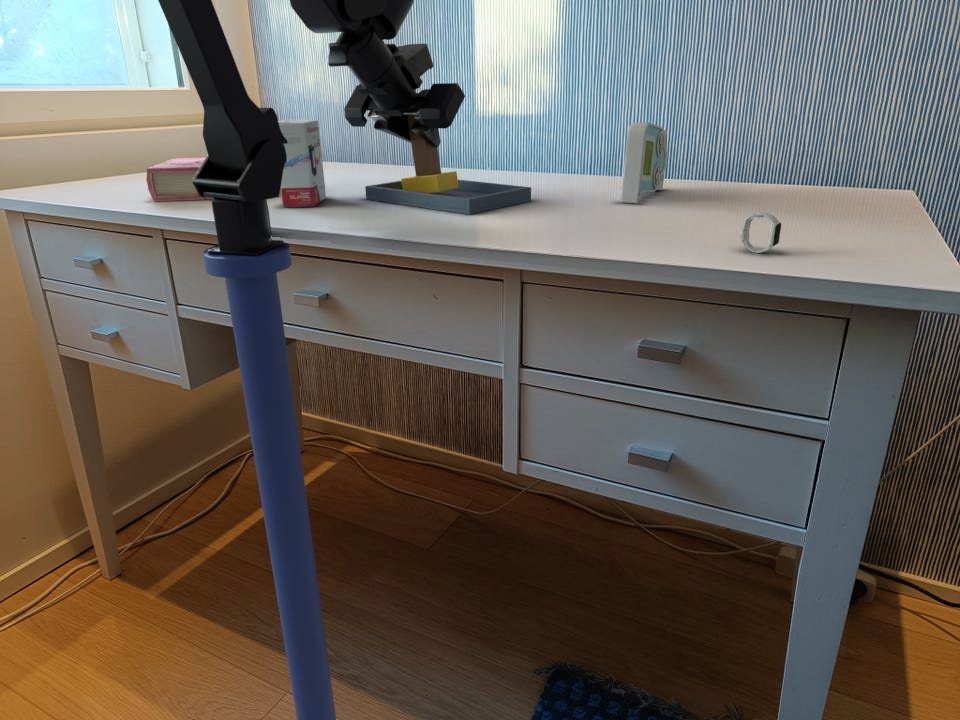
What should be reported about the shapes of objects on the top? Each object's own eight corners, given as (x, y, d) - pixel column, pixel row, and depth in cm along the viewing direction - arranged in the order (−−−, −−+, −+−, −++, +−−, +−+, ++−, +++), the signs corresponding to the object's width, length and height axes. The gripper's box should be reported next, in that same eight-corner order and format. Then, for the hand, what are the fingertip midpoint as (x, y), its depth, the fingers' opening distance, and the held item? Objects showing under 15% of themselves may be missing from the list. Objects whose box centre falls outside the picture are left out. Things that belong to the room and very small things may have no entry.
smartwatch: (735, 251, 71) (741, 212, 69) (742, 247, 72) (748, 209, 71) (771, 256, 69) (778, 216, 67) (778, 252, 70) (784, 212, 69)
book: (175, 187, 121) (169, 158, 119) (263, 185, 122) (259, 155, 120) (147, 201, 107) (141, 168, 106) (247, 197, 109) (242, 165, 107)
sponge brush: (439, 192, 101) (426, 99, 98) (403, 195, 105) (389, 106, 101) (458, 187, 105) (446, 98, 101) (423, 191, 109) (410, 104, 105)
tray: (531, 200, 102) (531, 187, 101) (469, 214, 92) (469, 199, 92) (428, 188, 115) (428, 176, 114) (366, 199, 106) (365, 186, 105)
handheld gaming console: (664, 202, 110) (638, 204, 97) (646, 201, 111) (619, 202, 99) (672, 129, 107) (647, 121, 94) (654, 129, 108) (627, 120, 96)
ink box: (314, 207, 100) (305, 121, 95) (280, 207, 100) (270, 122, 95) (327, 197, 108) (319, 118, 103) (296, 198, 108) (287, 118, 103)
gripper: (453, 16, 89) (501, 102, 102) (349, 25, 99) (404, 102, 111) (419, 83, 86) (472, 163, 99) (315, 85, 96) (375, 158, 109)
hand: (430, 144), depth 104 cm, fingers closed on sponge brush, 3 cm apart
